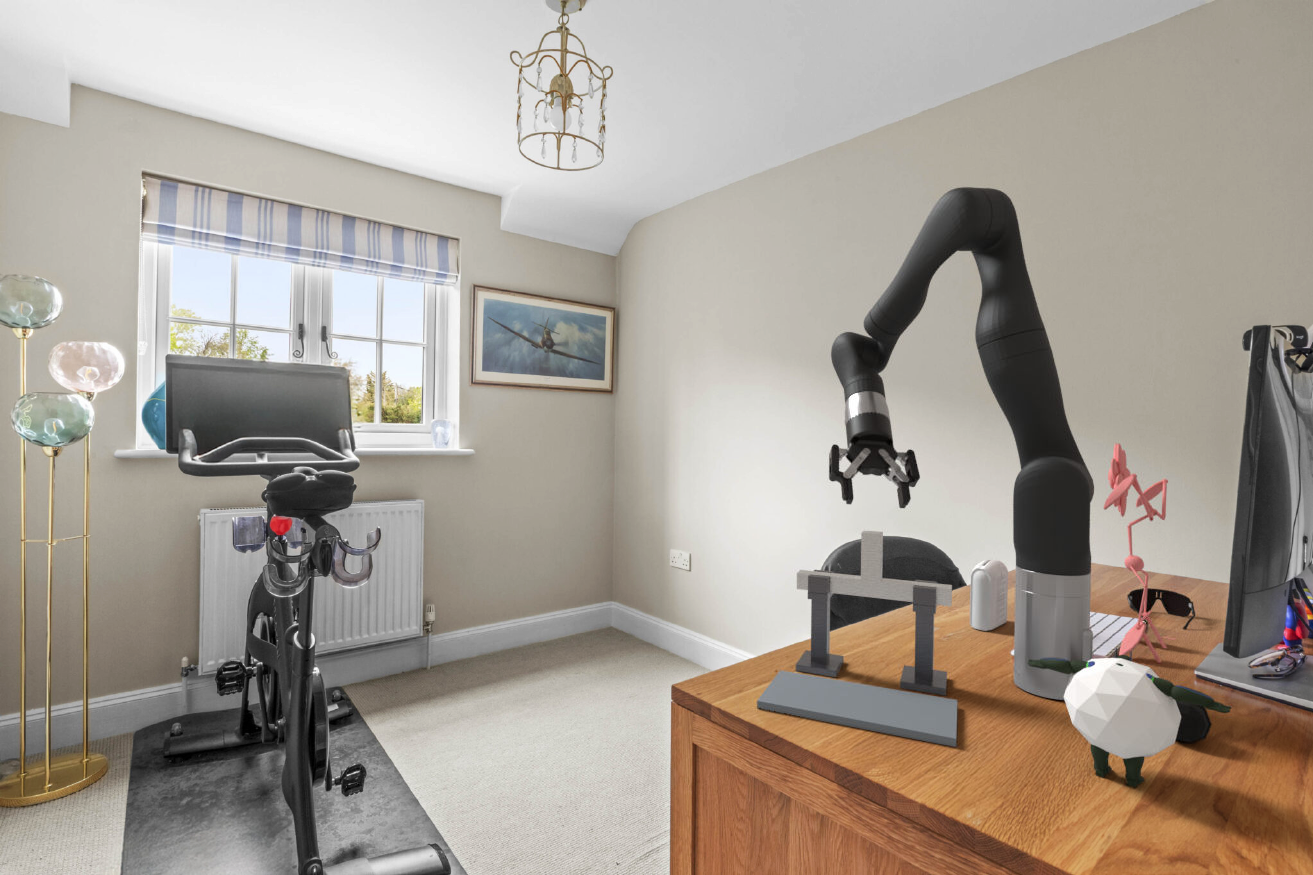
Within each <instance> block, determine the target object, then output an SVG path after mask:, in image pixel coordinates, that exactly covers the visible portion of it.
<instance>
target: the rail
mask: <svg viewBox="0 0 1313 875" xmlns="http://www.w3.org/2000/svg"><path fill="white" fill-rule="evenodd" d="M860 533H861V537H860V538H861V539H860V541H861V542H860V544H861V546H860V575H855V574H854V575H853V574H845V573H844V574H843V573H835V572H834V573H827V572H817V571H814V570H805V569H799V570H798V571H796V572H797V573H796V590H802V591H808V576H809V575H815V576H825V577H829V593H834V594H836V595H837V594H839V595H845V596H846V595H848V596H855V597H856V596H857V597H864V598H874V599H882V600H883V599H884V600H891V601H900V602H909V603H913V586H922V587H932V588H936V605H937V606H943V607H944V606H945V607H952V601H953V600H952V598H953V597H952V596H953V595H952V593H953V585H952V584H945V583H944V584H943V583H937V584H936V583H926V582H916V581H915V580H903V579H895V578H886V577H884V578H883V564H884V563H883V557H884V556H883V555H884V554H883V552H884V532H883V531H873V530H863V531H862V532H860Z"/></svg>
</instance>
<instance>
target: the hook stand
mask: <svg viewBox="0 0 1313 875" xmlns="http://www.w3.org/2000/svg"><path fill="white" fill-rule="evenodd" d="M813 571H817V572H827V573H835V571H833V570H832V571H831V570H823V569H814V570H813ZM914 581H916V582H926V583H936V584H938V581H932V580H921V579H915V580H914ZM834 594H835V593H829V577H825V576H815V575H809V576H808V590H807V599H808V600H811V604H810V605H811V608H810V611H811V612H810V620H811V621H810V650H808V649H807V650H804V651H803V654H802V655H801V656H800V657H799V659H798V660H797V662H796V663H795V672H802V673H806V674H807V673H808V674H812V675H813V674H814V675H819V676H823V677H830V678H836V677H837V676H838V674H839V672H840V670H841V668H842V666H843V664H844V663H845V662H844V660H845V657H844V655H840V654H833V653H830V642H831V640H830V639H831V636H830V635H831V634H830V632H831V629H830V628H831V626H830V625H831V598H832V596H833V595H834ZM937 607H938V605H936V588H932V587H922V586H913V602H912V612H914V613H915V619H914V620H915V622H914V623H915V628H914V629H915V630H914V632H915V635H914V666H912V665H907V664H906V665H905V664H904V665H903V668H902V671H901V672H902V673H901V676H900V680H899V688H900V689H902V690H909V691H915V692H922V693H928V694H932V695H940V696H946V695H947V682H948V671H945V670H938V669H934V657H935V656H934V653H935V652H934V651H935V650H934V648H935V615H936V612H937Z"/></svg>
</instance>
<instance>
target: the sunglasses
mask: <svg viewBox="0 0 1313 875" xmlns="http://www.w3.org/2000/svg"><path fill="white" fill-rule="evenodd" d="M1143 591H1144V587H1143V588H1138V589H1133V590H1131V591H1130V592H1128V593H1129V594H1126V595H1127V596H1126V597H1127V598H1126V599H1127V601H1128V605H1129V608H1130V609H1131V610H1133V611H1135V612H1136V613H1137V614H1138V615H1139V612H1140V607H1141V602H1142V597H1143ZM1157 600H1159V601H1160V602H1161V604H1162V606H1163V608H1164V610H1165V612H1166V613H1167V614H1168V615H1170V616H1177V617H1182V618H1184V617H1188V616H1190V614H1192V616H1191V617H1190V618H1189V619H1188V620H1187V621H1186V623H1185V624H1184V626H1183V627H1182V630H1187V629H1188V626H1189V625H1190V623H1191V622H1193V620H1194V619H1195V618H1196V611H1195V606H1194V601H1192V600H1191V599H1190V597H1188V596H1186V595H1185V594H1181V593H1179V592H1176V591H1172V590H1167V589H1160V588H1152V587H1151V588H1149V587H1148V589H1147V604H1146V612H1147V613H1148V612H1149V611H1152V609H1153V607H1154V605H1155V603H1156V601H1157ZM1142 612H1144V606H1143V611H1142ZM1142 617H1143V616H1141V618H1142ZM1144 621H1145V622H1146V624H1145V625H1149V623H1148V621H1147V619H1145V620H1144Z"/></svg>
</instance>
